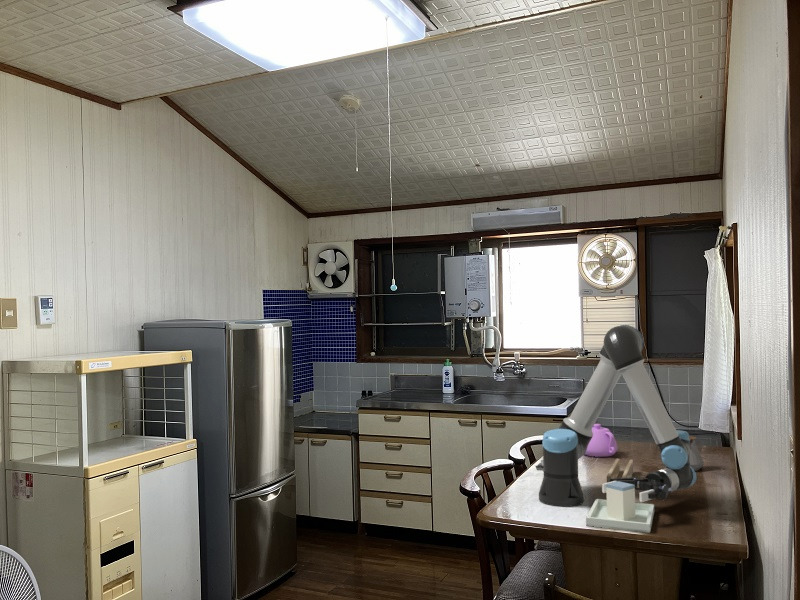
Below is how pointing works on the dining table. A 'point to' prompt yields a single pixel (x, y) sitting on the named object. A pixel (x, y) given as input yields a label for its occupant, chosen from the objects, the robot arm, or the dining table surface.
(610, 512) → the white boxy piece
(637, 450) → the dining table surface
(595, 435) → the teapot
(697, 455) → the coffee pot
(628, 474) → the wooden napkin holder
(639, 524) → the tray
